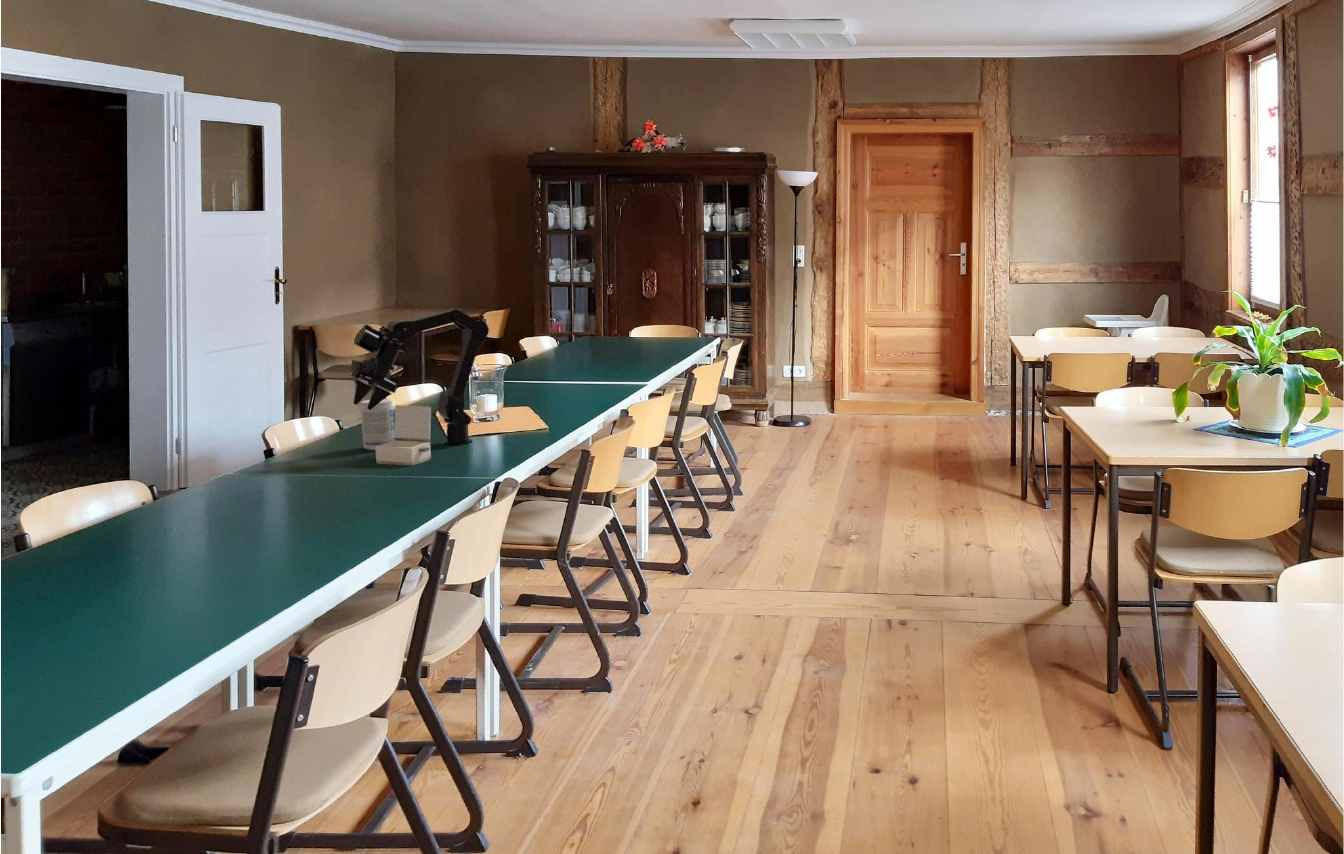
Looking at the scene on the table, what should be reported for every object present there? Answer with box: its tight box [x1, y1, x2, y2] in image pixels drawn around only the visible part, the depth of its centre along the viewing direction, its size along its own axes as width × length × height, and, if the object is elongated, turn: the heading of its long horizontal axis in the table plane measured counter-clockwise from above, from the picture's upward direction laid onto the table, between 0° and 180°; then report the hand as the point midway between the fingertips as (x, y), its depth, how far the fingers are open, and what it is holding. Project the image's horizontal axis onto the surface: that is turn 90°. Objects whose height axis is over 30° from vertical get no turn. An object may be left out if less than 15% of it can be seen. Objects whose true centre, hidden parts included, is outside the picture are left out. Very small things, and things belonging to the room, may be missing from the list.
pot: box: [375, 440, 432, 467], centre depth 362 cm, size 10×16×5 cm, turn 69°
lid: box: [394, 404, 432, 443], centre depth 366 cm, size 10×12×2 cm
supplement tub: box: [360, 398, 396, 451], centre depth 383 cm, size 10×10×15 cm
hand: (361, 406), depth 371 cm, fingers open, 9 cm apart
